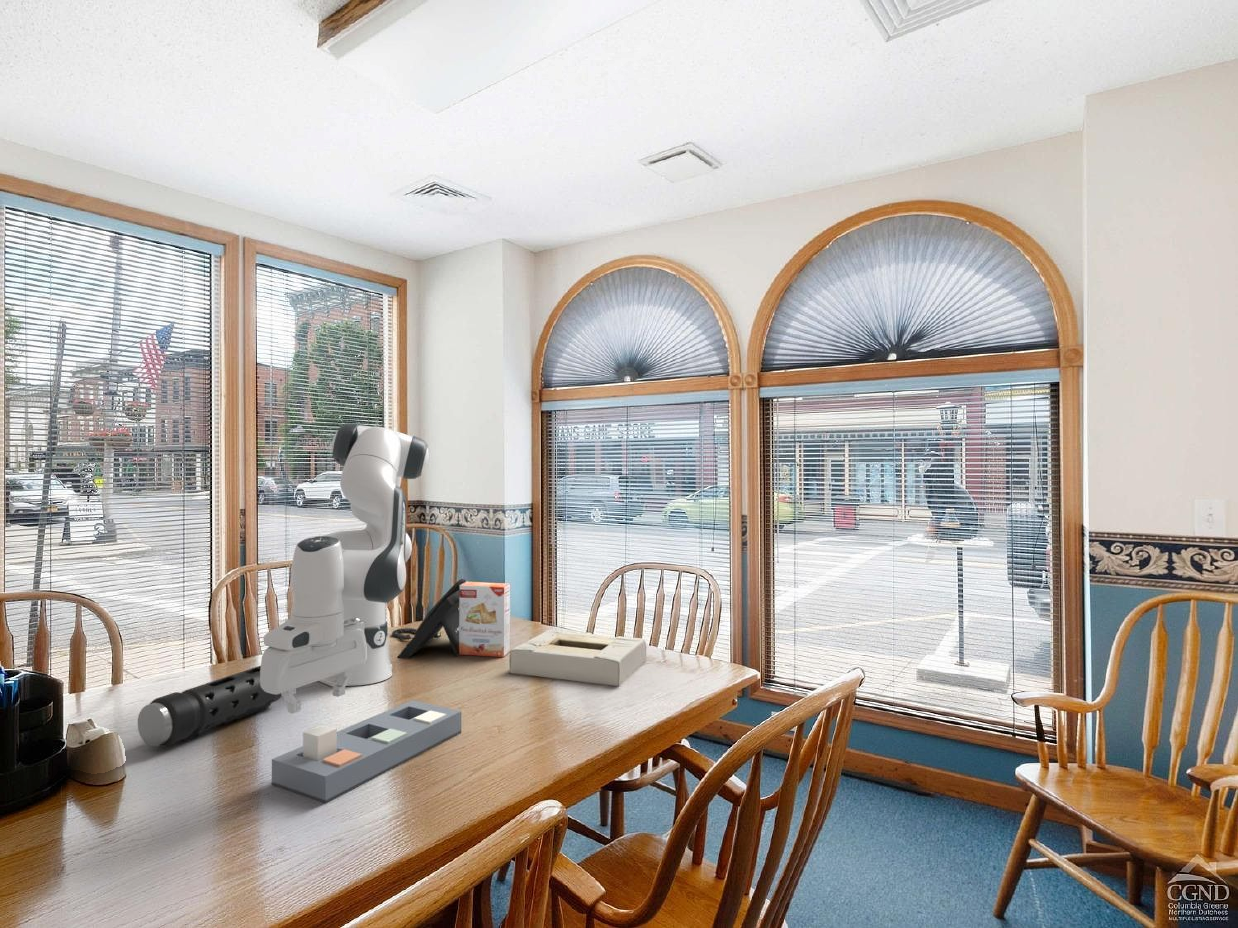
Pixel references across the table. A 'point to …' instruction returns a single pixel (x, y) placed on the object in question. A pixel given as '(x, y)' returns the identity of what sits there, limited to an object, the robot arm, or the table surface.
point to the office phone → (435, 624)
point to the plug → (319, 742)
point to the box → (579, 657)
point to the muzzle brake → (202, 708)
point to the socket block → (367, 750)
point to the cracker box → (484, 619)
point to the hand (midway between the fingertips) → (317, 703)
